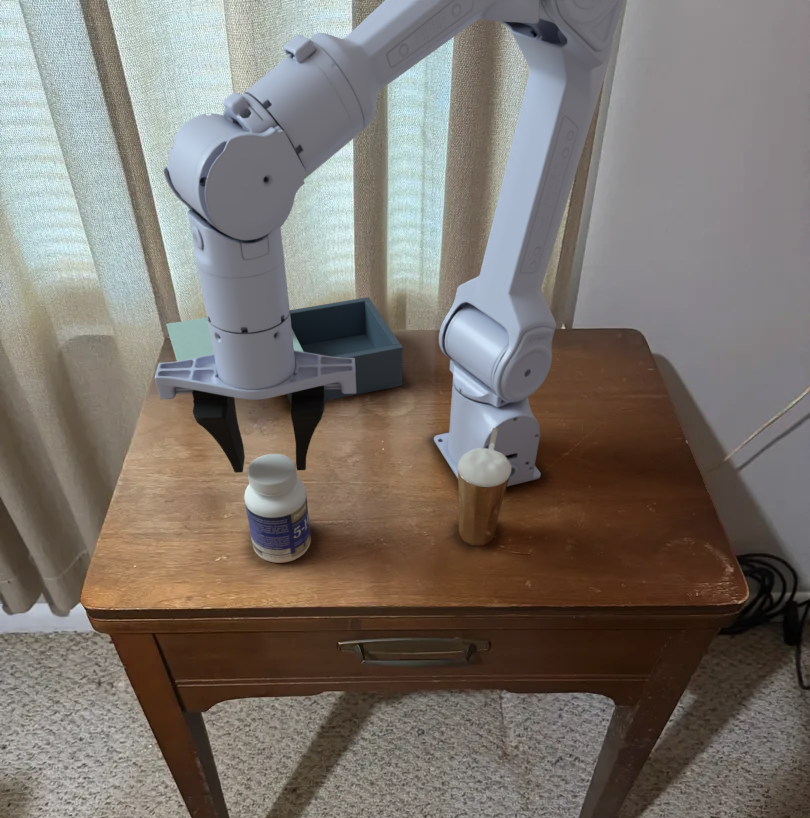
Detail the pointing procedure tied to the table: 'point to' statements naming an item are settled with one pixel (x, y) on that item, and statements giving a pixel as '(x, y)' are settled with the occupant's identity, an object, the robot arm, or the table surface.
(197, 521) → the table surface
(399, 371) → the case
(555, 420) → the table surface
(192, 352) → the sliding lid
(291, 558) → the pill bottle
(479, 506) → the milkshake
